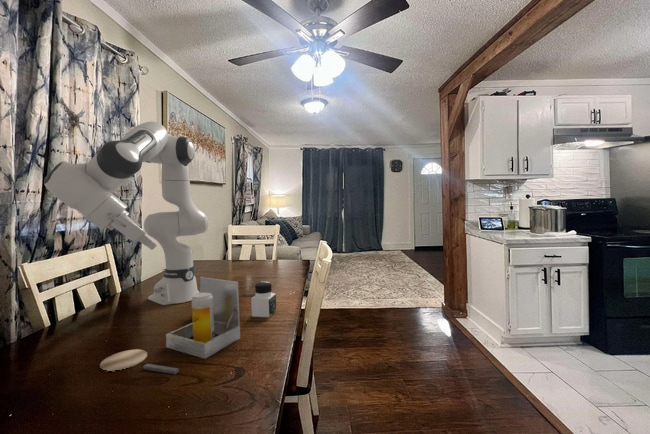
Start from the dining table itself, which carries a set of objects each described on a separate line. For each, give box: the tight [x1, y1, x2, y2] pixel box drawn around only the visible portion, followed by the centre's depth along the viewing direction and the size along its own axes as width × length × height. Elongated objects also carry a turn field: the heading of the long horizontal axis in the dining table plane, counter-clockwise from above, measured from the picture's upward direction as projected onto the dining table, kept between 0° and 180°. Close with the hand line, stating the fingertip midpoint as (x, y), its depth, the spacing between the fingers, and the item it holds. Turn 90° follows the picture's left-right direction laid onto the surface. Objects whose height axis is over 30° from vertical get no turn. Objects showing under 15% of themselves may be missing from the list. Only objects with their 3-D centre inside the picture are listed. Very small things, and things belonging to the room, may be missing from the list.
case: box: [165, 276, 241, 359], centre depth 96 cm, size 16×14×18 cm
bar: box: [143, 363, 180, 375], centre depth 81 cm, size 10×1×1 cm, turn 74°
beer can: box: [191, 292, 216, 343], centre depth 96 cm, size 6×6×15 cm
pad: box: [99, 348, 148, 372], centre depth 86 cm, size 11×11×1 cm
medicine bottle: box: [250, 281, 277, 318], centre depth 119 cm, size 7×7×12 cm
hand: (152, 245), depth 91 cm, fingers open, 8 cm apart
